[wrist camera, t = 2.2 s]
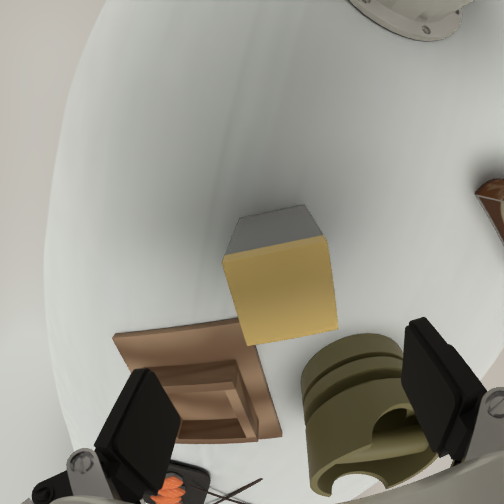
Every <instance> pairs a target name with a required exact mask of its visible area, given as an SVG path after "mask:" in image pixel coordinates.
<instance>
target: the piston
mask: <svg viewBox="0 0 504 504" xmlns="http://www.w3.org/2000/svg"><path fill="white" fill-rule="evenodd" d="M402 364H403V352H402V351H401V349H400V347H399V346H398V344H397V343H396V342H395V341H393V340H392V339H390V338H389V337H386V336H383V335H380V334H372V333H365V334H356V335H352V336H348V337H345V338H342V339H339V340H337V341H335V342H333V343H331V344H329V345H327V346H326V347H324V348H323V349H322V350H320V351H319V352H318V353H317V354H315V355H314V356H313V357H312V359H311V360H310V361H309V362H308V364H307V365H306V367H305V368H304V371H303V373H302V376H301V390H302V400H303V410H304V420H305V425H306V441H307V453H308V465H309V478H310V487H311V489H312V490H313V491H314V492H315V493H317V494H319V495H322V496H326V497H330V496H331V495H332V485H333V483H334V481H335V480H336V479H338V478H339V477H341V476H344V475H348V474H366V475H370V476H373V477H375V478H377V479H379V480H380V481H381V482H382V483H383V484H384V486H385V488H386V489H388V488H391V487H393V486H396V485H398V484H400V483H402V482H404V481H406V480H408V479H410V478H412V477H413V476H415V475H417V474H418V473H420V472H421V471H423V470H424V469H425V468H427V467H428V466H429V465H430V464H432V463H433V462H434V461H435V460H436V459H437V458H438V453H437V452H435V453H433V452H432V450H431V448H430V446H429V443H428V441H427V439H426V437H425V434H424V432H423V430H422V428H421V425H420V423H419V421H418V419H417V417H416V414H415V412H414V410H413V408H412V406H411V404H410V402H409V400H408V398H407V396H406V393H405V391H404V389H403V387H402V384H401V373H402Z"/></svg>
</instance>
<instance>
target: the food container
mask: <svg viewBox="0 0 504 504" xmlns="http://www.w3.org/2000/svg"><path fill="white" fill-rule="evenodd" d="M475 196H476V198H477V199H478V201H479V202H480V204H481V206H482V207H483V209H484V211H485V212H486V214H487V216H488V217H489V219H490V221H491V223H492V225H493V226H494V228H495V230H496V232H497V234H498V236H499V238H500V240H501V241H502V243H503V245H504V179H492V180H490V181H488V182H486V183H484V184H483V185H482V186H481V187H480V188H479V189H478V190H477V192H476V193H475Z"/></svg>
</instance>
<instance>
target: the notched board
mask: <svg viewBox="0 0 504 504" xmlns="http://www.w3.org/2000/svg"><path fill="white" fill-rule="evenodd" d="M112 339H113V341H114V343H115V345H116V347H117V349H118V350H119V352H120V354H121V356H122V358H123V359H124V361H125V363H126V365H127V366H128V368H129V370H130V372H131V373H132V371H133V370H134V369H139V368H149V369H150V370H151V371H152V372H154V373H155V374H156V376H157V378H158V380H159V381H160V383H161V385H162V387H163V388H164V390H165V392H166V394H167V395H168V397H169V399H170V401H171V402H172V404H173V406H174V407H175V409H176V411H177V412H178V414H179V416H180V419H181V423H180V427H179V430H178V434H177V437H176V441H175V443H178V444H227V443H246V442H258V439H268V438H277V437H282V430H281V427H280V423H279V420H278V417H277V414H276V411H275V408H274V404H273V401H272V398H271V395H270V392H269V388H268V385H267V382H266V379H265V375H264V372H263V369H262V366H261V362H260V359H259V356H258V352H257V349H256V346H255V345H251V346H247V344H246V341H245V338H244V334H243V331H242V328H241V325H240V322H239V318H234V319H228V320H222V321H215V322H208V323H202V324H195V325H187V326H180V327H172V328H164V329H156V330H147V331H138V332H128V333H118V334H115V335H114V336H113V337H112Z"/></svg>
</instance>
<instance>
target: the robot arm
mask: <svg viewBox="0 0 504 504" xmlns="http://www.w3.org/2000/svg"><path fill="white" fill-rule="evenodd" d="M472 1H474V0H350V2H351V3H352V4H353V5H354V6H355V7H357V8H358V9H359V10H360V11H361V12H362V13H364V14H365V15H366V16H368V17H369V18H371V19H372V20H373V21H375V22H376V23H378V24H380V25H381V26H383V27H385V28H387V29H388V30H390V31H393V32H395V33H397V34H400V35H402V36H405V37H408V38H412V39H415V40H422V41H437V40H440V39H443V38H446V37H448V36H449V35H451V34H453V33H454V32H455V31H456V30H457V29H458V28H459V25H460V23H461V20H462V7H463V6H465V5H467V4H469V3H470V2H472ZM401 384H402V387H403V389H404V391H405V393H406V396H407V398H408V400H409V402H410V404H411V406H412V408H413V410H414V412H415V414H416V417H417V419H418V421H419V423H420V425H421V428H422V430H423V432H424V434H425V437H426V439H427V441H428V443H429V446H430V448H431V450H432V452H433V453H435V452H437V453H438V456H439V458H441V457H443V456H445V455H447V454H449V455H450V457H451V459H453V462H452V464H451V467H450V468H449V469H446V470H444V471H441V472H439V473H436V474H434V475H431V476H429V477H426V478H424V479H421V480H418V481H416V482H413V483H410V484H407V485H404V486H401V487H398V488H395V489H392V490H389V491H385V492H382V493H379V494H375V495H371V496H368V497H364V498H360V499H356V500H351V501H347V502H342V503H337V504H504V387H496V388H493V389H491V390H489V391H488V392H487V390H486V389H485V387H484V386H483V385H482V383H481V382H480V381H479V379H478V378H477V377H476V375H475V374H474V373H473V371H472V370H471V369H470V367H469V366H468V365H467V363H466V362H465V361H464V359H463V358H462V357H461V356H460V354H459V353H458V352H457V351H456V349H455V348H454V347H453V346H452V345H449V344H447V343H446V341H445V340H444V339H443V338H442V336H441V335H440V334H439V333H438V332H437V330H436V329H435V328H434V327H433V326H432V324H431V323H430V322H429V321H428V320H427V318H425V317H421V318H418V319H415V320H412V321H410V322H409V326H406V328H405V338H404V352H403V364H402V373H401ZM180 423H181V419H180V416H179V414H178V412H177V411H176V409H175V407H174V406H173V404H172V402H171V401H170V399H169V397H168V395H167V394H166V392H165V390H164V388H163V387H162V385H161V383H160V381H159V380H158V378H157V376H156V374H155V373H154V372H152V371H151V370H150V369H149V368H139V369H134V370H133V371H132V373H131V375H130V377H129V379H128V380H127V382H126V384H125V386H124V388H123V390H122V391H121V393H120V395H119V397H118V399H117V401H116V403H115V405H114V407H113V408H112V410H111V412H110V414H109V416H108V418H107V420H106V422H105V424H104V426H103V428H102V430H101V432H100V434H99V436H98V438H97V440H96V442H95V444H94V446H95V447H96V449H95V451H93V450H92V449H89V448H82V449H79V450H77V451H75V452H74V453H72V454H71V455H70V457H69V459H68V460H67V464H66V465H67V470H66V471H64V472H62V473H60V474H58V475H55V476H53V477H51V478H49V479H47V480H44V481H42V482H40V483H38V484H37V485H36V486H35V487H34V489H33V491H32V500H31V499H30V498H28V499H27V500H25V501H24V502H23V503H22V504H146V503H145V502H144V500H143V495H144V494H147V495H153V496H157V494H158V491H159V490H161V489H162V487H163V484H164V480H165V477H166V473H167V469H168V466H169V462H170V459H171V455H172V452H173V448H174V444H175V441H176V437H177V434H178V430H179V427H180Z"/></svg>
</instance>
